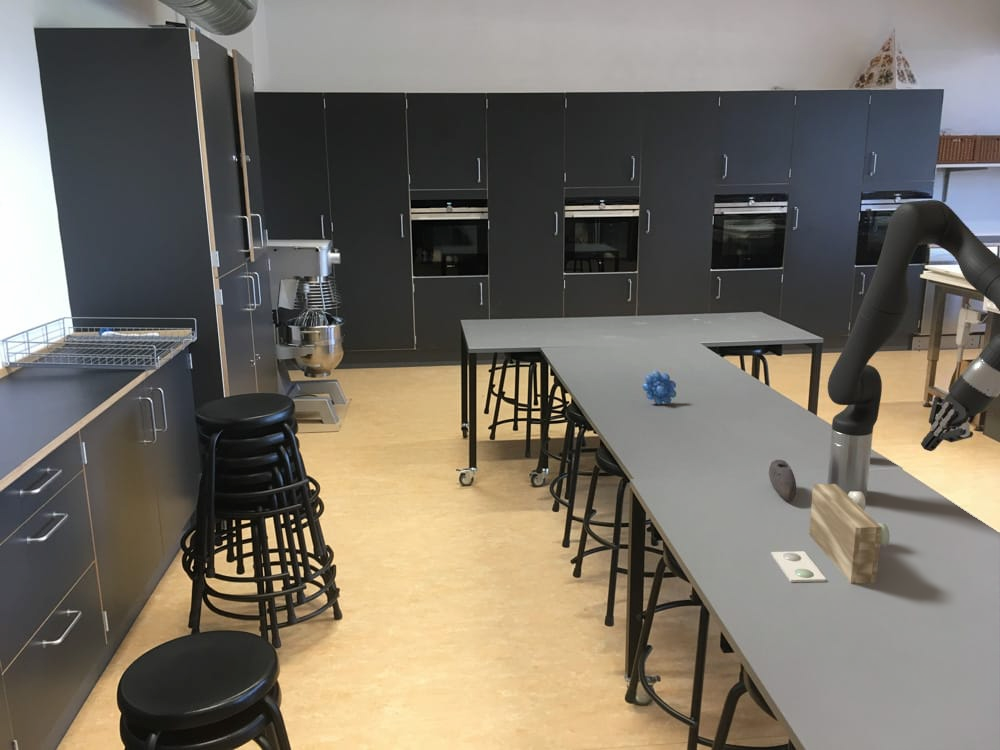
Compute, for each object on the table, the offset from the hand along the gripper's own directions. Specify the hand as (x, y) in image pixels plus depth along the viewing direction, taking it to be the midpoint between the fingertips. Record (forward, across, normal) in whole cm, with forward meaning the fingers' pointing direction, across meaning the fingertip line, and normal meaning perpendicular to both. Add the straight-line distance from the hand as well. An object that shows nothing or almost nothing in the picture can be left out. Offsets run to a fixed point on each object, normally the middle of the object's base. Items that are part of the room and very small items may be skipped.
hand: (925, 448), depth 167 cm
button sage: (+17, +15, -9) cm, 24 cm away
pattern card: (+28, +14, -17) cm, 36 cm away
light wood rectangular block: (+26, +10, -7) cm, 28 cm away
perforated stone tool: (+36, -22, -5) cm, 43 cm away
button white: (+21, 0, -5) cm, 21 cm away
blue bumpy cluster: (+66, -97, -12) cm, 118 cm away
